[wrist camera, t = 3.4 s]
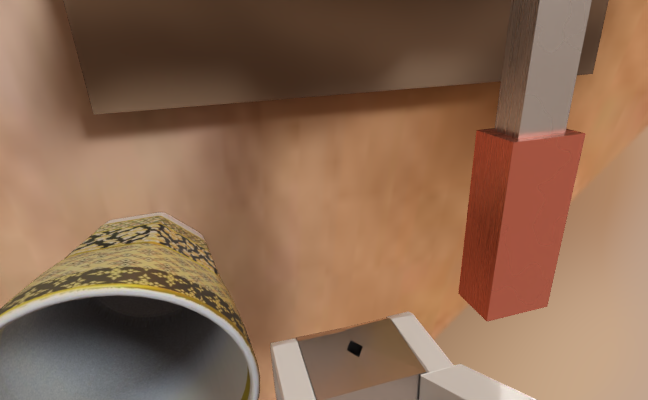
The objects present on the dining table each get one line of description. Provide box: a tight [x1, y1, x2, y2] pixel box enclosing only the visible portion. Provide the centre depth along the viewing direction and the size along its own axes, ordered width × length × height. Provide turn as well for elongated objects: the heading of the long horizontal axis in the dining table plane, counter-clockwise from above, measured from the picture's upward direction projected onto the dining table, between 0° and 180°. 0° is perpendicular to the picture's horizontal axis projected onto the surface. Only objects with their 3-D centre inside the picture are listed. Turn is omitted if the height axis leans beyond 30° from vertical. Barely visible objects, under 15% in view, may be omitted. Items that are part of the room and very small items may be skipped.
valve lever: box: [459, 0, 592, 321], centre depth 12 cm, size 14×3×4 cm, turn 4°
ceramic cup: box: [0, 212, 260, 400], centre depth 18 cm, size 13×10×10 cm
